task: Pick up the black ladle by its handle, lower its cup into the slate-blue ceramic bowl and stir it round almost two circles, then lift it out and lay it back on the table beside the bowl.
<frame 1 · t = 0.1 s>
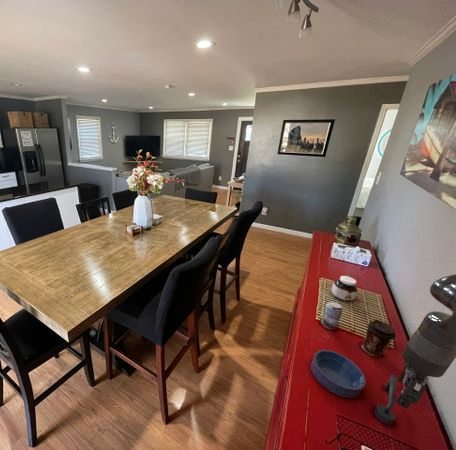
hand: (402, 393, 66), 18 cm above the sideboard, tool pointing down, fingers open, 8 cm apart
beverage can: (327, 325, 112), on the sideboard
spread jar: (342, 295, 133), on the sideboard
coffee cup: (371, 350, 100), on the sideboard
ladle: (383, 416, 76), on the sideboard
bowl: (334, 377, 88), on the sideboard
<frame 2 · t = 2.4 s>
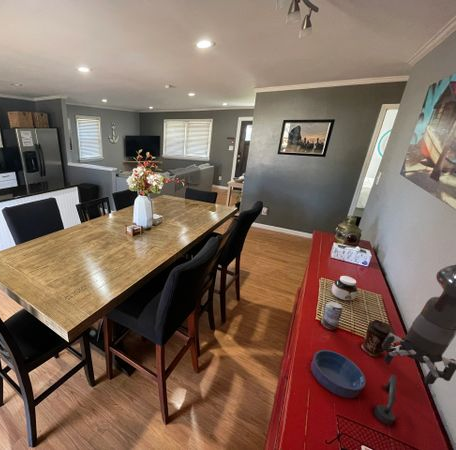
hand: (406, 372, 73), 17 cm above the sideboard, tool pointing down, fingers open, 8 cm apart
nothing on the sideboard moved.
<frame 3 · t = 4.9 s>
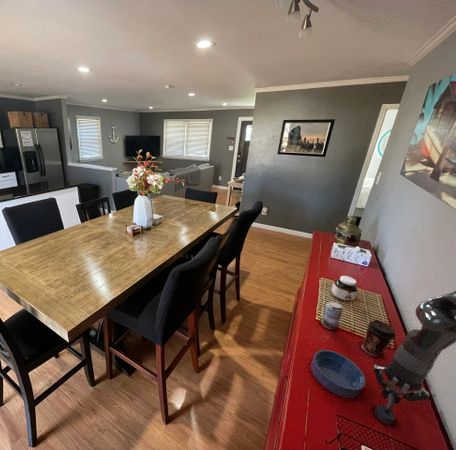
hand: (388, 398, 78), 3 cm above the sideboard, tool pointing down, fingers closed on ladle
ladle: (383, 416, 76), on the sideboard, touching gripper
everything else where it was.
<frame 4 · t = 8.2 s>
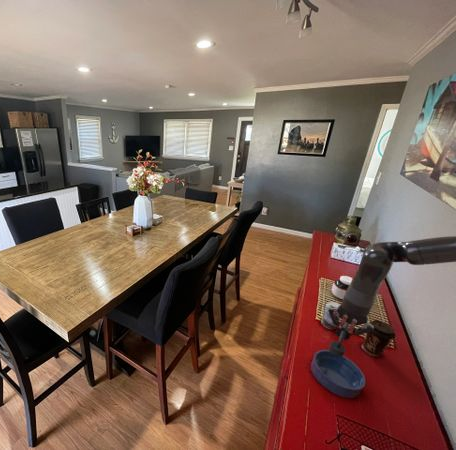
hand: (341, 336, 88), 15 cm above the sideboard, tool pointing down, fingers closed on ladle
ladle: (335, 351, 86), point 11 cm above the sideboard, touching gripper
everything else where it was.
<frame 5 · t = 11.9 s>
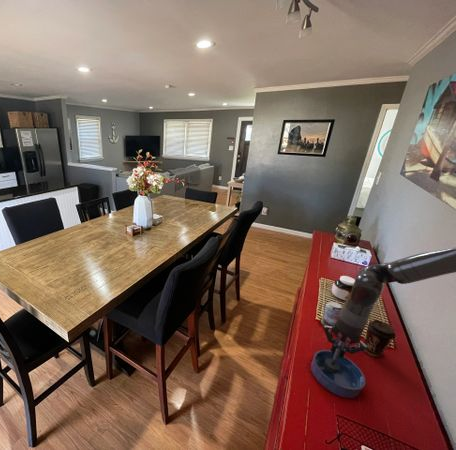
hand: (336, 354, 91), 6 cm above the sideboard, tool pointing down, fingers closed on ladle
ladle: (330, 368, 89), point 2 cm above the sideboard, touching gripper
everything else where it was.
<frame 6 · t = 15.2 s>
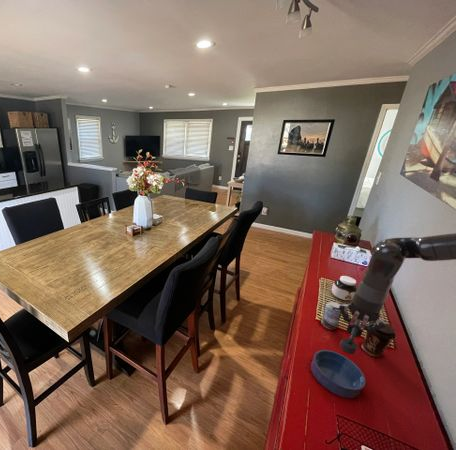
hand: (353, 333, 87), 16 cm above the sideboard, tool pointing down, fingers closed on ladle
ladle: (347, 348, 85), point 13 cm above the sideboard, touching gripper
everything else where it was.
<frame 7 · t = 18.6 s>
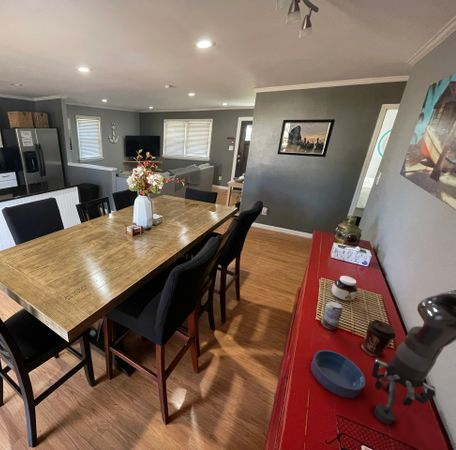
hand: (390, 395, 78), 5 cm above the sideboard, tool pointing down, fingers open, 6 cm apart
ladle: (382, 416, 77), on the sideboard
everything else where it was.
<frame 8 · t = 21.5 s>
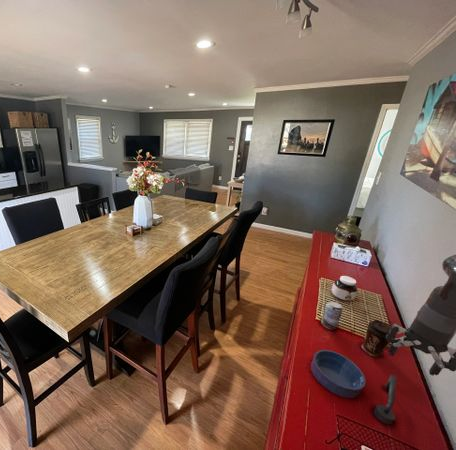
hand: (410, 363, 72), 20 cm above the sideboard, tool pointing down, fingers open, 8 cm apart
nothing on the sideboard moved.
at the end: ladle inside the target area (0.1 cm from its centre), on the sideboard; ladle tilted 0°; the gripper is holding nothing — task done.
